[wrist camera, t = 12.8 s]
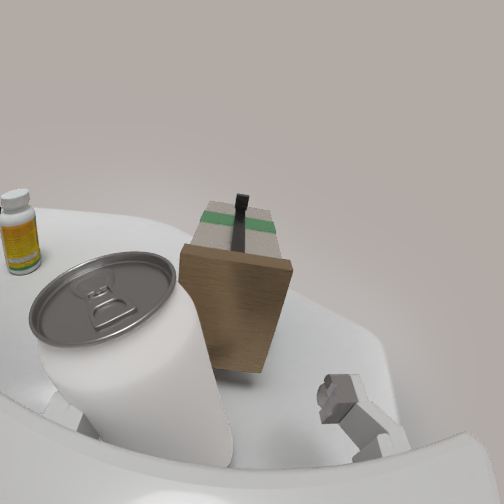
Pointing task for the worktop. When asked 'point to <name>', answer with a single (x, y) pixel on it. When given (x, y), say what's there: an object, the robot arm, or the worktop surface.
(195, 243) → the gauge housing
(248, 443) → the worktop surface
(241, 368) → the gauge plunger
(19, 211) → the supplement bottle
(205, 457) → the can
